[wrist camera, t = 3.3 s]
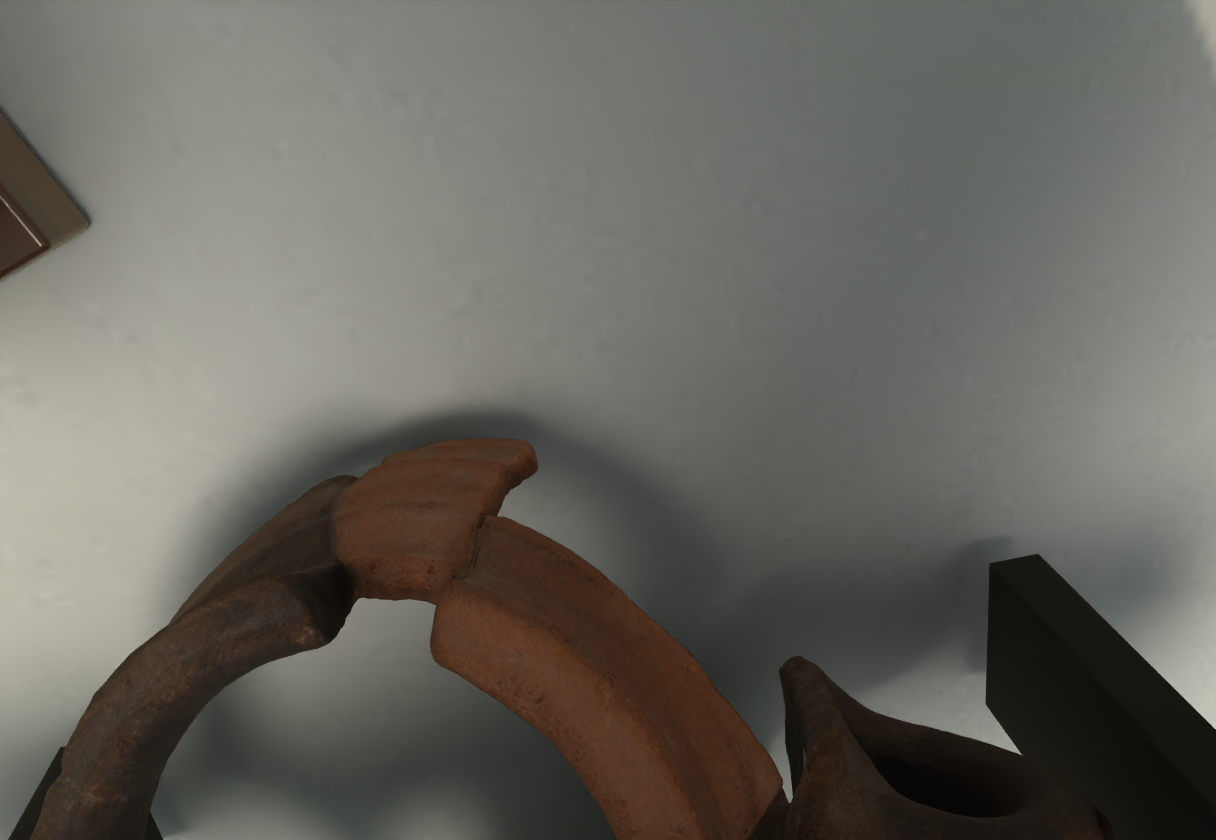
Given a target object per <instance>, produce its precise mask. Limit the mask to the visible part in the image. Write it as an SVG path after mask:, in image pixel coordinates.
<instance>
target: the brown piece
mask: <svg viewBox="0 0 1216 840" xmlns="http://www.w3.org/2000/svg"><path fill="white" fill-rule="evenodd" d="M87 227H88V223H87V220H86V219H85V217H84V216H83V215H82V214H81V212H80V211H79V210H78V209H77V207H76V206H75V205H74V204H73V202H72V201H71V200H70V199H69V197H68V196H67V195H66V194H65V192H64V191H63V190H62V189H61V188H60V186H59V185H58V184H57V183H56V181H55V180H54V179H53V178H52V176H51V175H50V174H49V173H48V171H47V170H46V169H45V168H44V166H43V165H42V164H41V163H40V161H39V160H38V159H37V158H36V157H35V155H34V154H33V153H32V152H31V150H30V149H29V148H28V147H27V145H26V144H25V143H24V142H23V140H22V139H21V138H20V137H19V135H18V134H17V133H16V132H15V130H14V129H13V128H12V127H11V126H10V124H9V123H8V122H7V121H6V119H5V118H4V117H3V116H2V114H1V113H0V282H1V281H3V280H4V279H6V278H8V277H9V276H11V275H13V274H14V273H16V272H18V271H19V270H21V269H23V268H24V267H26V266H27V265H29V264H31V263H32V262H34V261H36V260H37V259H39V258H41V257H42V256H44V255H46V254H47V253H49V252H51V251H52V250H54V249H56V248H57V247H59V246H60V245H62V244H64V243H65V242H67V241H69V240H70V239H72V238H74V237H75V236H77V235H79V234H80V233H82V232H84V231H85V230H86V228H87Z"/></svg>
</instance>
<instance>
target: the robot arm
mask: <svg viewBox="0 0 1216 840" xmlns="http://www.w3.org/2000/svg"><path fill="white" fill-rule="evenodd" d="M986 705H987V707H988V708H989V710H990V711H991V712H992V714H993V715H994V717H995V718H996V719H997V721H998V722H999V723H1000V725H1001V726H1002V728H1003V729H1004V730H1005V732H1006V733H1007V735H1008V736H1009V737H1010V739H1011V740H1012V742H1013V743H1014V744H1015V746H1016V747H1017V749H1018V750H1019V751H1020V753H1021V754H1022V755H1023V756H1024V757H1026V758H1029V759H1031V760H1033V761H1036V762H1038V763H1041V764H1042V765H1044V766H1046V767H1048V768H1049V769H1051V770H1052V771H1054V772H1056V773H1057V774H1059V775H1060V776H1062V777H1064V778H1065V779H1066V780H1068V781H1069V782H1070V783H1072V784H1073V785H1074V786H1075V787H1076V788H1078V789H1079V790H1080V791H1081V792H1082V793H1083V794H1084V795H1085V797H1086V798H1087V799H1088V800H1089V801H1090V802H1091V803H1092V804H1093V805H1094V806H1096V807H1097V809H1098V810H1099V811H1101V812H1102V813H1103V814H1104V815H1105V816H1106V817H1107V819H1108V821H1109V822H1110V823H1111V826H1112V830H1113V836H1114V840H1216V729H1214V728H1213V727H1212V726H1211V725H1210V724H1209V723H1208V722H1207V721H1206V720H1205V719H1204V718H1203V717H1202V716H1201V715H1200V714H1199V713H1198V712H1197V711H1196V710H1195V709H1194V708H1193V707H1192V706H1191V705H1190V704H1189V703H1188V702H1187V701H1186V700H1185V699H1184V698H1183V697H1182V696H1181V695H1180V694H1179V693H1178V692H1177V691H1176V690H1175V689H1174V688H1173V687H1172V686H1171V685H1170V684H1169V683H1168V682H1167V681H1166V680H1165V679H1164V678H1163V677H1162V676H1161V675H1160V674H1159V673H1158V672H1157V671H1156V670H1155V669H1154V668H1153V667H1152V666H1151V665H1150V664H1149V663H1148V662H1147V661H1146V660H1145V659H1144V658H1143V657H1142V656H1141V655H1140V654H1139V653H1138V652H1137V651H1136V650H1135V649H1134V648H1133V647H1132V646H1131V645H1130V644H1129V643H1128V642H1127V641H1126V640H1125V639H1124V638H1123V637H1122V636H1121V635H1120V634H1119V633H1118V632H1117V631H1116V630H1115V629H1114V628H1113V627H1112V626H1111V625H1110V624H1108V623H1107V622H1106V621H1105V620H1104V619H1103V618H1102V617H1101V616H1100V615H1099V614H1098V613H1097V612H1096V611H1095V610H1094V609H1093V608H1092V607H1091V606H1090V605H1089V604H1088V603H1087V602H1086V601H1085V600H1084V599H1083V598H1082V597H1081V596H1080V595H1079V594H1078V593H1077V592H1076V591H1075V590H1074V589H1073V588H1072V587H1071V586H1070V585H1069V584H1068V583H1067V582H1066V581H1065V580H1064V579H1063V578H1062V577H1061V576H1060V575H1059V574H1058V573H1057V572H1056V571H1055V570H1054V569H1053V568H1052V567H1051V566H1050V565H1049V564H1048V563H1047V562H1046V561H1045V560H1044V559H1043V558H1042V557H1041V556H1040V555H1039V554H1034V555H1029V556H1024V557H1019V558H1014V559H1009V560H1004V561H999V562H994V563H990V565H989V600H988V635H987V670H986ZM65 747H66V746H65ZM65 747H60V749H59V751H58V752H57V754H56V756H55V758H54V759H53V761H52V763H51V765H50V767H49V768H48V770H47V772H46V774H45V775H44V777H43V779H42V781H41V782H40V784H39V786H38V788H37V790H36V791H35V793H34V795H33V797H32V798H31V800H30V802H29V804H28V806H27V807H26V809H25V811H24V813H23V814H22V816H21V818H20V820H19V822H18V823H17V825H16V827H15V829H14V830H13V832H12V834H11V836H10V838H9V839H8V840H30V838H31V836H32V834H33V832H34V829H35V827H36V824H37V822H38V819H39V817H40V814H41V810H42V806H43V803H44V799H45V796H46V793H47V790H48V789H49V787H50V786H51V785H52V784H53V783H54V782H55V780H56V779H57V778H58V777H59V776H60V775H61V773H62V761H61V759H62V755H63V752H64V749H65ZM144 840H163V838H162V836H161V834H160V831H159V829H158V827H157V825H156V823H155V821H154V819H153V817H152V815H151V813H150V811H149V815H148V820H147V825H146V831H145V837H144Z"/></svg>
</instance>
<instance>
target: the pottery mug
mask: <svg viewBox="0 0 1216 840" xmlns="http://www.w3.org/2000/svg"><path fill="white" fill-rule="evenodd" d="M537 470H538V462H537V458H536V455H535V451H534V449H533V447H532V446H531V445H530V444H529V443H527V442H526V441H522V440H514V439H501V438H483V439H468V440H447V441H441V442H437V443H434V444H430V445H427V446H425V447H423V448H420V449H416V450H410V451H404V452H399V453H393V454H391V455H389V456H387V457H386V458H384V460H383V461H382V463H381V465H379V466H376V467H374V468H372V469H370V470H369V471H368V472H367V473H366V474H364V475H363V476H361V477H360V478H357V477H355V476H352V475H340V476H336V477H333V478H330V479H328V480H325V481H323V482H320V483H319V484H317V485H315V486H314V487H312V488H311V489H310V490H308V491H307V492H306V493H305V494H303V495H302V496H301V497H299V498H298V499H297V500H296V501H295V502H293V503H291V504H289V505H288V506H287V507H286V508H284V509H283V510H282V511H281V512H279V513H278V514H277V515H276V516H274V517H273V518H272V519H270V520H269V521H267V522H266V523H265V524H264V525H263V526H262V527H261V528H260V529H259V530H258V531H257V532H256V533H255V534H253V535H252V536H251V537H249V538H248V539H247V540H246V541H245V542H244V543H243V544H241V545H240V546H239V547H238V548H237V549H236V550H235V551H233V552H232V553H231V554H230V555H228V556H227V557H226V558H225V560H224V561H223V562H222V563H221V564H220V565H219V566H218V567H217V568H216V569H215V570H214V571H213V572H211V573H210V574H209V575H208V576H207V578H206V579H205V580H204V581H203V582H202V583H201V584H200V585H199V586H198V587H197V588H196V590H195V591H194V592H193V593H192V594H191V596H190V597H189V598H188V600H187V601H186V602H185V603H184V604H183V605H182V606H181V608H180V609H179V611H178V612H177V613H176V615H175V616H174V617H173V619H172V620H171V622H170V623H169V625H168V626H166V627H165V628H163V629H162V630H160V631H159V632H158V633H156V634H155V635H154V636H153V637H152V638H150V639H149V640H148V641H147V642H145V643H144V644H143V645H141V646H140V647H138V648H137V649H136V650H135V651H134V652H132V653H131V654H130V655H129V656H128V657H127V658H126V660H125V661H124V662H123V663H121V665H120V666H119V667H118V668H117V669H116V670H115V671H114V673H113V674H112V675H111V676H110V677H109V678H108V680H107V681H106V682H105V683H104V684H103V685H102V686H101V687H100V688H99V690H98V691H97V692H96V693H95V694H94V695H93V697H92V700H91V702H90V704H89V705H88V707H87V709H86V711H85V713H84V714H83V715H82V717H81V719H80V721H79V723H78V725H77V727H76V729H75V731H74V732H73V734H72V736H71V738H70V740H69V742H68V744H67V746H66V747H65V749H64V752H63V755H62V759H61V761H62V773H61V775H60V776H59V777H58V778H57V779H56V780H55V782H54V783H53V784H52V785H51V786H50V787H49V789H48V790H47V793H46V796H45V799H44V803H43V806H42V810H41V814H40V817H39V819H38V822H37V824H36V827H35V829H34V832H33V834H32V836H31V838H30V840H144V837H145V831H146V825H147V820H148V815H149V811H150V807H151V804H152V801H153V797H154V794H155V791H156V788H157V786H158V782H159V778H160V776H161V773H162V771H163V769H164V766H165V764H166V762H167V759H168V758H169V756H170V755H171V753H172V752H173V750H174V749H175V747H176V746H177V744H178V742H179V741H180V739H181V738H182V736H183V734H184V733H185V732H186V730H187V729H188V727H189V725H190V724H191V723H192V721H193V720H194V719H195V718H196V716H197V715H198V714H199V713H200V711H201V710H202V709H203V708H204V707H205V705H206V704H207V703H208V702H209V701H210V700H211V699H212V698H214V697H215V696H216V695H217V694H218V693H219V692H220V691H221V690H222V689H223V688H225V687H226V686H228V685H229V684H231V683H232V682H234V681H235V680H236V679H238V678H239V677H241V676H243V675H245V674H246V673H248V672H250V671H251V670H253V669H255V668H257V667H259V666H261V665H263V664H266V663H268V662H271V661H274V660H277V659H281V658H284V657H288V656H291V655H294V654H297V653H300V652H303V651H308V650H313V649H318V648H320V647H322V646H325V645H327V644H329V643H330V642H331V641H332V640H333V639H334V638H335V637H336V636H337V635H338V633H339V631H340V629H341V628H342V627H343V626H344V624H345V620H346V617H347V616H348V615H349V613H350V612H351V609H352V606H353V605H354V603H355V602H356V601H357V600H358V599H359V598H368V599H373V598H377V599H383V600H395V601H396V600H405V599H412V600H420V601H426V602H429V603H432V604H434V605H436V610H435V614H434V621H433V628H432V633H431V638H430V647H431V653H432V656H433V659H434V660H435V662H436V663H437V664H439V665H440V666H442V667H444V668H446V669H448V670H450V671H452V672H454V673H455V674H457V675H459V676H461V677H462V678H464V679H466V680H467V681H469V682H470V683H472V684H473V685H475V686H476V687H477V688H479V689H480V690H482V691H483V692H485V693H487V694H488V695H490V696H492V697H493V698H495V699H496V700H498V701H499V702H501V703H502V704H504V705H505V706H506V707H508V708H509V709H510V710H512V711H513V712H514V713H516V714H517V715H518V716H520V717H521V718H522V719H524V720H525V721H527V722H528V723H529V724H531V725H532V726H533V727H534V728H535V729H537V730H538V731H539V732H540V733H541V734H543V735H544V736H545V737H546V738H547V739H548V740H550V741H551V742H552V743H553V744H554V745H555V746H556V747H557V748H558V749H559V750H560V752H561V753H562V754H563V756H564V757H565V758H566V760H567V761H568V762H569V764H570V765H571V766H572V768H573V769H574V770H575V772H576V773H577V774H578V775H579V777H580V778H581V780H582V781H583V783H584V784H585V786H586V787H587V789H588V791H589V792H590V794H591V795H592V797H593V798H594V800H595V801H596V802H597V804H598V805H599V806H600V808H601V809H602V811H603V813H604V814H605V816H606V818H607V820H608V822H609V824H610V826H611V828H612V830H613V832H614V834H615V836H616V839H617V840H1114V836H1113V830H1112V826H1111V823H1110V822H1109V821H1108V819H1107V817H1106V816H1105V815H1104V814H1103V813H1102V812H1101V811H1099V810H1098V809H1097V807H1096V806H1094V805H1093V804H1092V803H1091V802H1090V801H1089V800H1088V799H1087V798H1086V797H1085V795H1084V794H1083V793H1082V792H1081V791H1080V790H1079V789H1078V788H1076V787H1075V786H1074V785H1073V784H1072V783H1070V782H1069V781H1068V780H1066V779H1065V778H1064V777H1062V776H1060V775H1059V774H1057V773H1056V772H1054V771H1052V770H1051V769H1049V768H1048V767H1046V766H1044V765H1042V764H1041V763H1038V762H1036V761H1033V760H1031V759H1029V758H1026V757H1024V756H1022V755H1020V754H1017V753H1014V752H1011V751H1008V750H1006V749H1003V748H1000V747H997V746H994V745H991V744H988V743H985V742H982V741H978V740H975V739H972V738H968V737H964V736H960V735H956V734H953V733H950V732H946V731H941V730H938V729H934V728H931V727H927V726H922V725H916V724H912V723H908V722H905V721H901V720H898V719H894V718H891V717H887V716H884V715H881V714H878V713H875V712H873V711H871V710H870V709H868V708H866V707H865V706H863V705H862V704H860V703H859V702H857V701H856V700H855V699H853V698H852V697H850V696H849V695H848V694H847V693H846V692H845V691H843V690H842V689H841V688H840V687H838V686H837V685H836V684H835V683H834V682H833V681H832V680H831V679H830V678H829V677H828V676H827V675H826V674H825V673H824V671H823V670H822V669H821V668H819V667H818V666H817V665H816V664H814V663H813V662H811V661H809V660H807V659H805V658H804V657H801V656H795V657H792V658H790V659H788V660H787V661H786V662H785V663H784V664H783V665H782V666H781V667H780V668H779V674H780V679H781V684H782V689H783V696H784V702H785V712H786V715H785V743H786V750H787V755H788V759H789V764H790V771H791V781H792V791H793V798H792V801H791V803H789V802H788V800H787V798H786V795H785V792H784V790H783V788H782V786H783V779H782V777H781V776H780V774H779V772H778V769H777V767H776V765H775V763H774V762H773V760H772V758H771V757H770V755H769V754H768V752H767V751H766V749H765V748H764V747H763V746H762V745H761V744H760V743H759V742H758V740H757V739H756V737H755V736H754V734H753V733H752V731H751V730H750V728H749V727H748V725H747V724H746V723H745V722H744V720H743V719H742V718H741V717H740V715H739V714H738V712H737V711H736V710H735V708H734V707H733V706H732V705H731V704H730V703H729V702H728V701H727V700H726V699H725V698H724V697H723V696H722V695H721V694H720V692H719V691H718V690H717V688H716V687H715V685H714V684H713V682H712V680H711V678H710V677H709V676H708V674H707V673H706V672H705V670H704V669H703V668H702V666H701V665H700V664H699V662H698V661H697V660H696V658H695V657H694V655H693V654H691V653H690V652H689V651H688V650H687V649H686V648H685V647H684V646H683V645H682V644H681V643H680V642H678V641H677V640H676V639H675V638H673V637H672V636H671V635H670V634H669V633H668V632H666V631H665V630H664V629H662V628H661V627H660V626H659V625H658V624H657V623H656V622H655V621H654V620H653V619H651V618H650V617H649V616H648V615H647V614H646V613H645V612H644V611H643V610H642V609H640V608H639V607H638V606H637V605H636V604H635V603H634V602H632V601H631V600H630V599H629V598H628V597H627V595H626V594H625V593H624V592H623V591H622V590H621V589H620V588H619V587H618V586H616V585H615V584H614V583H613V582H611V581H610V580H609V579H608V578H607V577H606V576H605V575H604V574H603V573H602V572H601V571H599V570H598V569H597V568H595V567H594V566H593V565H591V564H590V563H588V562H587V561H586V560H584V559H583V558H581V557H580V556H578V555H577V554H575V553H574V552H573V551H571V550H570V549H568V548H566V547H564V546H563V545H561V544H559V543H557V542H556V541H554V540H552V539H550V538H548V537H546V536H544V535H542V534H540V533H538V532H537V531H535V530H533V529H531V528H529V527H526V526H523V525H521V524H519V523H517V522H515V521H513V520H511V519H508V518H506V517H498V516H497V515H498V512H499V510H500V508H501V506H502V503H503V500H504V498H505V495H507V494H508V493H509V491H510V490H511V489H513V488H515V487H516V486H518V485H520V484H521V482H522V481H523V480H525V479H527V478H529V477H530V476H532V475H533V474H534V473H535V472H537Z"/></svg>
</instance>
